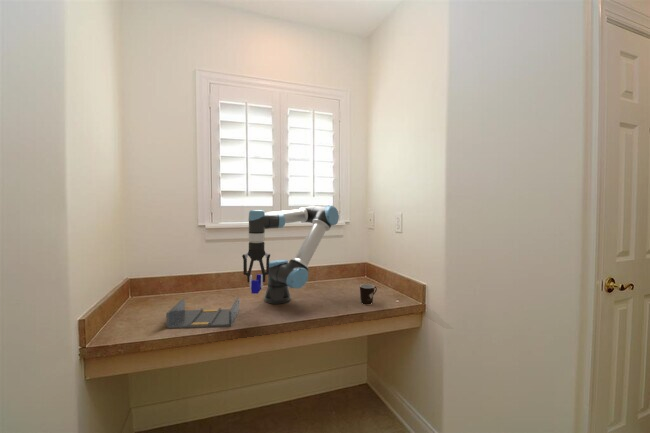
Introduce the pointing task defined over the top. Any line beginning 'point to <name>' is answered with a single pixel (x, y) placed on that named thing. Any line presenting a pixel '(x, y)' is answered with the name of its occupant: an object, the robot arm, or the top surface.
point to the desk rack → (201, 316)
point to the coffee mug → (367, 293)
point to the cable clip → (256, 285)
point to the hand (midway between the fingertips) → (256, 288)
